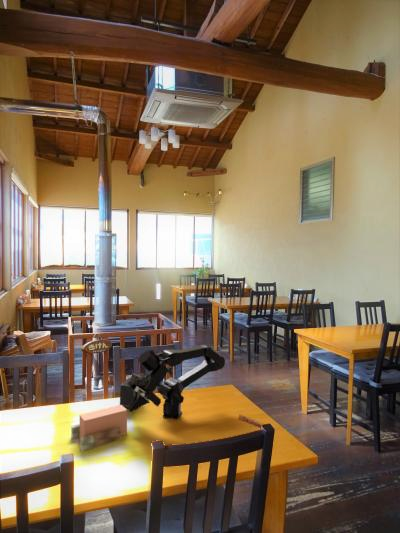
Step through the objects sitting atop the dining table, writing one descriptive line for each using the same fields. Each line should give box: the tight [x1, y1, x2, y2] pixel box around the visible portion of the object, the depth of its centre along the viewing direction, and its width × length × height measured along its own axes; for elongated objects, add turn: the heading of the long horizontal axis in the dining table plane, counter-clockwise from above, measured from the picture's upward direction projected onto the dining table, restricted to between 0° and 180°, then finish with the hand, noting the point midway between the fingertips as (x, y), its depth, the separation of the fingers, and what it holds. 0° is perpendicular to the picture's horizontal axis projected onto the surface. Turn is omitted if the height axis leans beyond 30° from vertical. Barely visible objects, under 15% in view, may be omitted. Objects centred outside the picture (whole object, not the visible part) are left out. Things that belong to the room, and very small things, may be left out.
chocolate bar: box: [237, 413, 264, 429], centre depth 147 cm, size 3×12×2 cm, turn 47°
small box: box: [119, 376, 134, 410], centre depth 162 cm, size 11×6×10 cm, turn 168°
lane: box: [70, 423, 121, 452], centre depth 133 cm, size 14×12×4 cm
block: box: [79, 404, 128, 439], centre depth 135 cm, size 16×6×9 cm, turn 125°
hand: (129, 411), depth 141 cm, fingers closed
